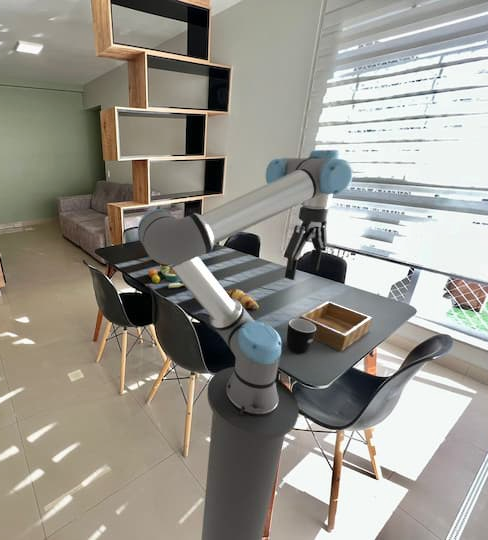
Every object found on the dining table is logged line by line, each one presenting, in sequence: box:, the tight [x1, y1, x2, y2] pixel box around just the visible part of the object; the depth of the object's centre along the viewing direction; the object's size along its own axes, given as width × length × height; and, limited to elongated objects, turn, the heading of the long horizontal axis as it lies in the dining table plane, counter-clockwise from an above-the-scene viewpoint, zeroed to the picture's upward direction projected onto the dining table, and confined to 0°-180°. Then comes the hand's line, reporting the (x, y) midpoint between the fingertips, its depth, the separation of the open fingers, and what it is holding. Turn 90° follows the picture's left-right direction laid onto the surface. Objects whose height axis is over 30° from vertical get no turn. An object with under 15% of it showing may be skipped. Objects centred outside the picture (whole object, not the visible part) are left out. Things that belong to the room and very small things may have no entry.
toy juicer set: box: [148, 264, 185, 289], centre depth 164 cm, size 29×18×8 cm, turn 36°
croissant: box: [225, 288, 259, 310], centre depth 139 cm, size 21×10×8 cm, turn 45°
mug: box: [286, 318, 316, 355], centre depth 106 cm, size 12×9×10 cm
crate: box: [299, 300, 373, 352], centre depth 116 cm, size 22×17×7 cm
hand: (301, 273), depth 92 cm, fingers open, 13 cm apart
